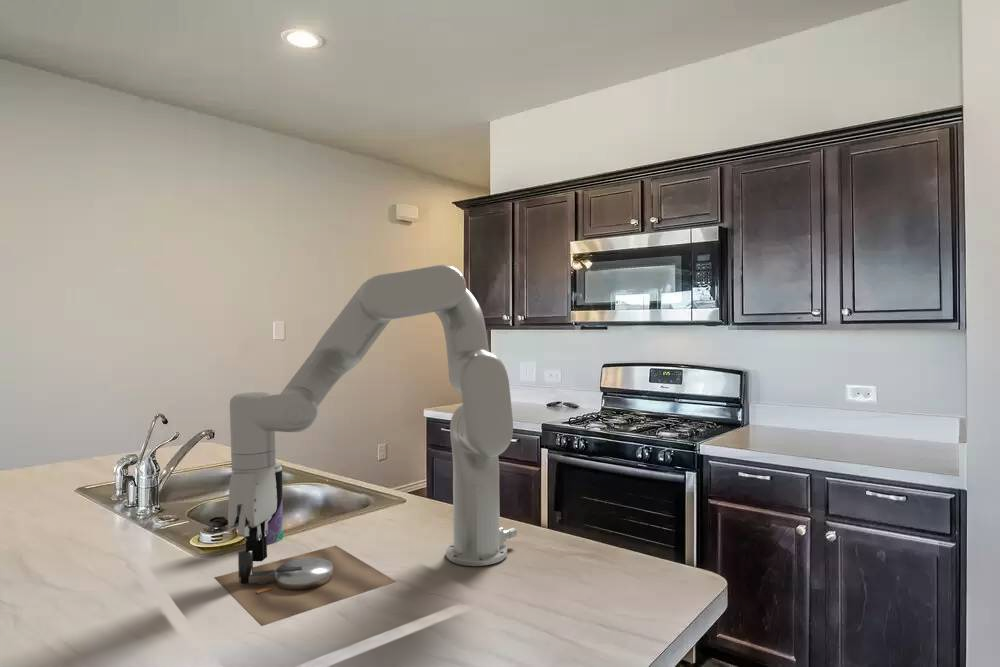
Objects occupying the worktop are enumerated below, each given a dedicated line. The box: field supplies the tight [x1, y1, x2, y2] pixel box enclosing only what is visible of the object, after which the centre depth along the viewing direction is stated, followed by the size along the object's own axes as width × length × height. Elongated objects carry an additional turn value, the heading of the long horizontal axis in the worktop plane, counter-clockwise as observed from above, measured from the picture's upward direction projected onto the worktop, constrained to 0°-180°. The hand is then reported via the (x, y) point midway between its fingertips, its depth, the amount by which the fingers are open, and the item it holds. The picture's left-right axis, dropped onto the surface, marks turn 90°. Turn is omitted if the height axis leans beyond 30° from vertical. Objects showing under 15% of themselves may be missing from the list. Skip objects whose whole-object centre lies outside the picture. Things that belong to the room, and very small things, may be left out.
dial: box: [237, 548, 333, 590], centre depth 111 cm, size 16×10×6 cm, turn 101°
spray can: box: [264, 460, 284, 545], centre depth 132 cm, size 6×6×20 cm
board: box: [214, 545, 397, 627], centre depth 111 cm, size 24×24×2 cm
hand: (256, 559), depth 112 cm, fingers closed
